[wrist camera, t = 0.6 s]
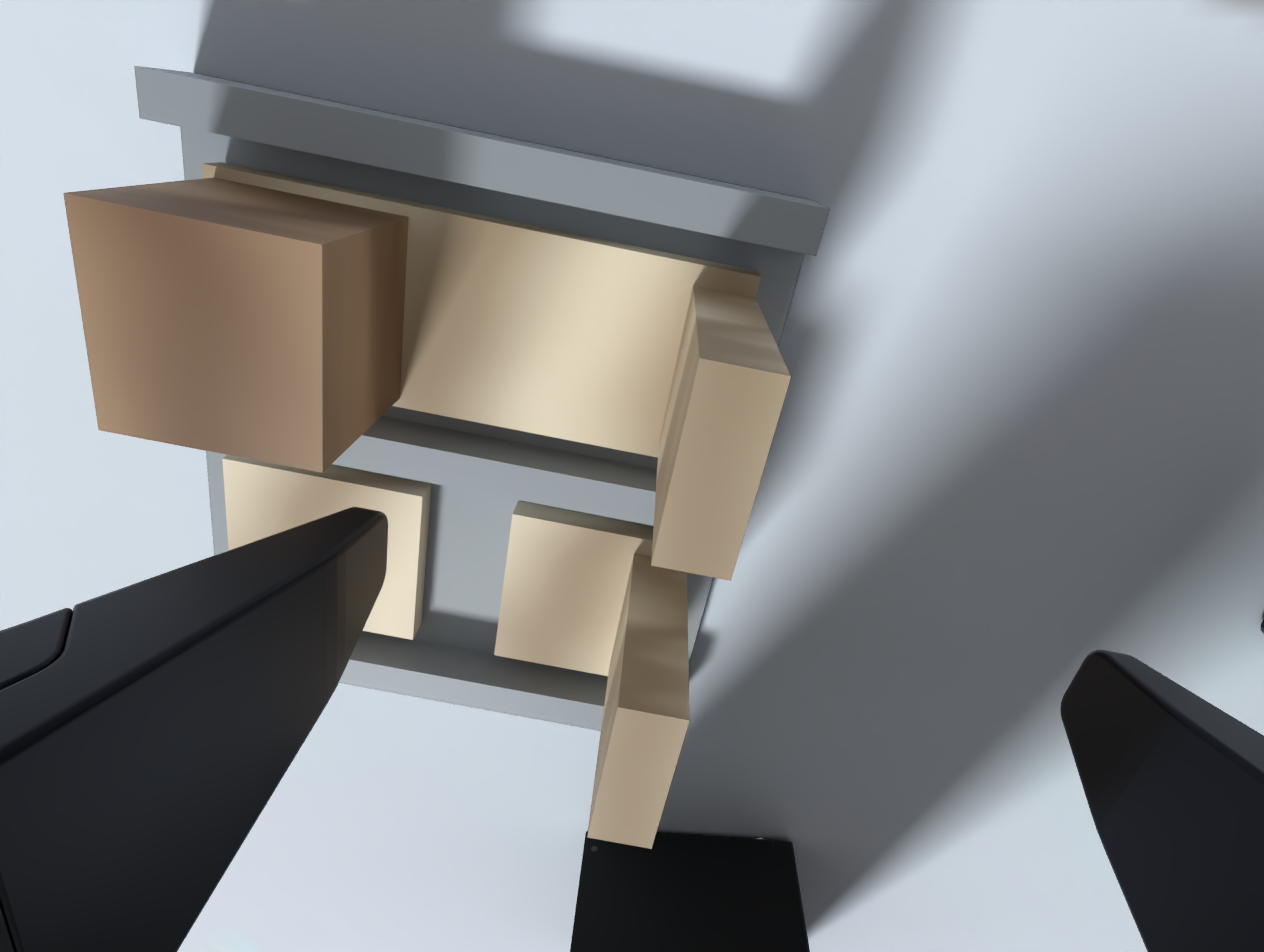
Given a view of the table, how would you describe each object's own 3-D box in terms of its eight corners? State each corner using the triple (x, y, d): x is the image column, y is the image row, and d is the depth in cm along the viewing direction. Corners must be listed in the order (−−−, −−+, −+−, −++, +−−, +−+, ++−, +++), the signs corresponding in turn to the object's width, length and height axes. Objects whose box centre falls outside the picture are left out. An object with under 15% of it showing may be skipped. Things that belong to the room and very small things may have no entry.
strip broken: (690, 533, 21) (694, 702, 15) (655, 667, 23) (647, 863, 17) (238, 446, 20) (49, 582, 14) (246, 591, 23) (86, 762, 16)
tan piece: (757, 270, 18) (800, 346, 11) (709, 455, 20) (724, 602, 14) (221, 162, 17) (-31, 180, 11) (233, 362, 19) (27, 470, 13)
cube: (408, 216, 17) (321, 245, 13) (399, 398, 19) (322, 473, 15) (214, 177, 17) (63, 193, 13) (225, 364, 19) (98, 429, 14)
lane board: (814, 200, 17) (829, 209, 16) (675, 699, 24) (674, 744, 23) (191, 72, 17) (134, 65, 15) (230, 616, 24) (194, 656, 22)
